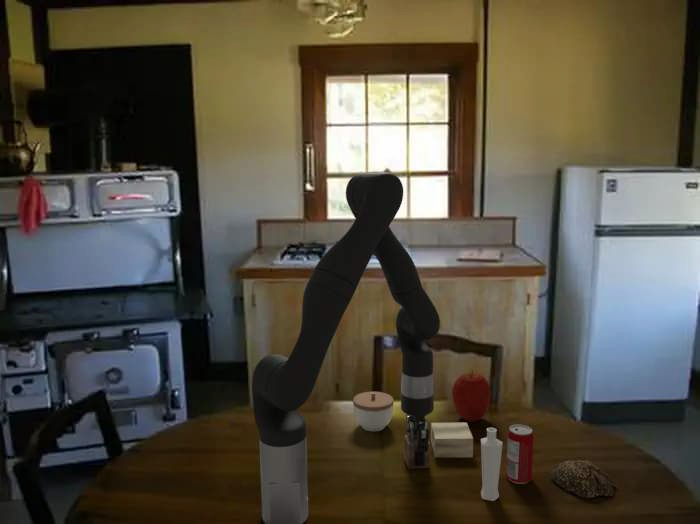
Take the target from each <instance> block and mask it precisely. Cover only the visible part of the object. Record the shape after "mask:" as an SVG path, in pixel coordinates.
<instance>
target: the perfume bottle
mask: <svg viewBox="0 0 700 524" xmlns="http://www.w3.org/2000/svg"><path fill="white" fill-rule="evenodd" d="M497 431H498V430H497V428H495V427H487V428H486V437H483V438H480V455H481V459H480V460H481V478H482V482H481V483H482V487H481V491H480V496H481V499H482V500H486V501H491V502H495V501H496V500H497V499H499V497H500V495H499V481H500V480H499V479H500V478H499V477H500V471H501V461H502V454H503V446H504V445H503V444H504V443H503V441H501V440H500V439H498V438H497Z"/></svg>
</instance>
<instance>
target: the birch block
mask: <svg viewBox="0 0 700 524" xmlns="http://www.w3.org/2000/svg"><path fill="white" fill-rule="evenodd" d="M469 427H470V426H469V425H468V422H430V444H431V446H432V450H433V455H434V458H473V456H474V437H473V434H472V432H471V430H470V428H469Z"/></svg>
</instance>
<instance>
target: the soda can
mask: <svg viewBox="0 0 700 524" xmlns="http://www.w3.org/2000/svg"><path fill="white" fill-rule="evenodd" d="M533 457H534V434H533V429H532V428H531V427H529V426H528V425H524V424H520V423H519V424H512V425H510V426H509V428H508V432H507V442H506V468H505V469H506V470H505V471H506V472H505V476H506V478H507V479H508V480H509V481H510V482H512V483H513V484H520V485H525V484H528V483H529V482H530V481H531V480H532V479H533V462H534V461H533Z"/></svg>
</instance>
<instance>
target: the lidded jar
mask: <svg viewBox="0 0 700 524" xmlns="http://www.w3.org/2000/svg"><path fill="white" fill-rule="evenodd" d="M394 401H395V399H394V397H393V396H392V395H391V394H388V393H387V392H386V393H385V392H382V391H366V392H365V391H364V392H360V393H358V394H356V395H355V396H354V397H353V399H352V404H353V413H354V417H355V421H356V422H357V423H358V424H359V426H361V428H362V429H363V430H364V431H366V432H380V431H382V430H384V429H385V427H386V426H387V425H389V423H390V422H391V420H392V417H393V412H394V404H395V402H394Z"/></svg>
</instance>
